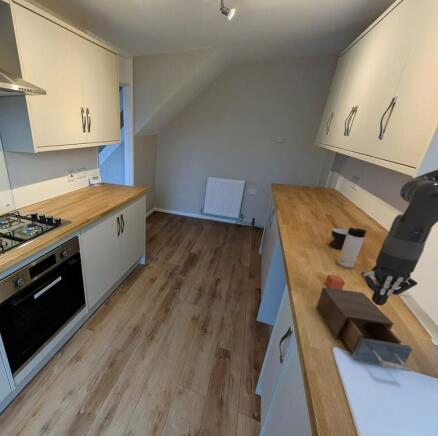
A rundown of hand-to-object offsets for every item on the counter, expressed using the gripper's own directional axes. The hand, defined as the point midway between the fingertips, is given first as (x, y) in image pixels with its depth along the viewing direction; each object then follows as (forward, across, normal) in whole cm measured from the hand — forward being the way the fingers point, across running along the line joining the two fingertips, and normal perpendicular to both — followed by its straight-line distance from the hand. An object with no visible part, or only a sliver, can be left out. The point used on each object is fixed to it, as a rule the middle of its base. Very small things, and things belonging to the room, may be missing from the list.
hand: (377, 303), depth 71 cm
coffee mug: (+14, +26, +69) cm, 75 cm away
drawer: (+13, -2, -6) cm, 14 cm away
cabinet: (+14, -2, +5) cm, 15 cm away
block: (+14, +5, +28) cm, 32 cm away
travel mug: (+14, +20, +49) cm, 55 cm away
